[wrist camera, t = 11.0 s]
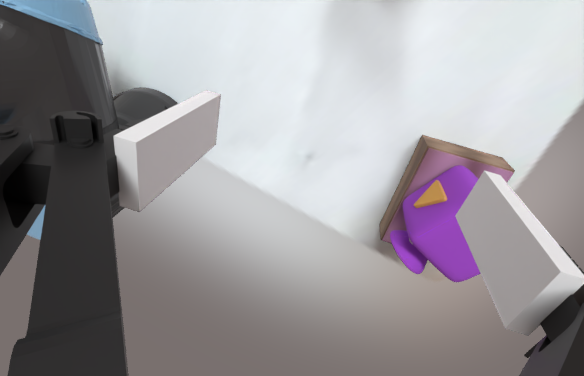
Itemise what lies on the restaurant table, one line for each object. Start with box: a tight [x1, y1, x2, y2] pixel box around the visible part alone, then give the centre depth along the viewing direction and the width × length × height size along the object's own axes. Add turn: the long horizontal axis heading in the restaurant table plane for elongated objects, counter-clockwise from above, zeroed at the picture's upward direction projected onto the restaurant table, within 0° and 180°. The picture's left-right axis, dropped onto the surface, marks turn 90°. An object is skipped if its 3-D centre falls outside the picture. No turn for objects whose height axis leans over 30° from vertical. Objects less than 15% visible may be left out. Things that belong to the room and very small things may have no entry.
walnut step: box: [380, 135, 515, 243], centre depth 44 cm, size 11×16×4 cm
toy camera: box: [390, 165, 481, 282], centre depth 38 cm, size 11×14×10 cm
